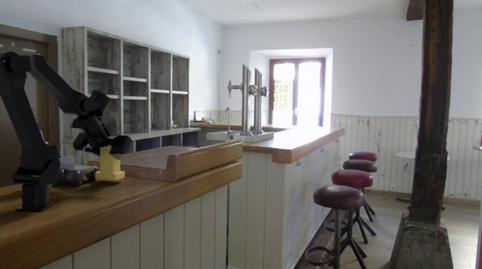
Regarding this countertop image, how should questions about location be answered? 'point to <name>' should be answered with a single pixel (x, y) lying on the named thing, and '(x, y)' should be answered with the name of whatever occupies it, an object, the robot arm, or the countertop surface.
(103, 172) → the yellow block on base
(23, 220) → the countertop surface
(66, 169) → the trolley
